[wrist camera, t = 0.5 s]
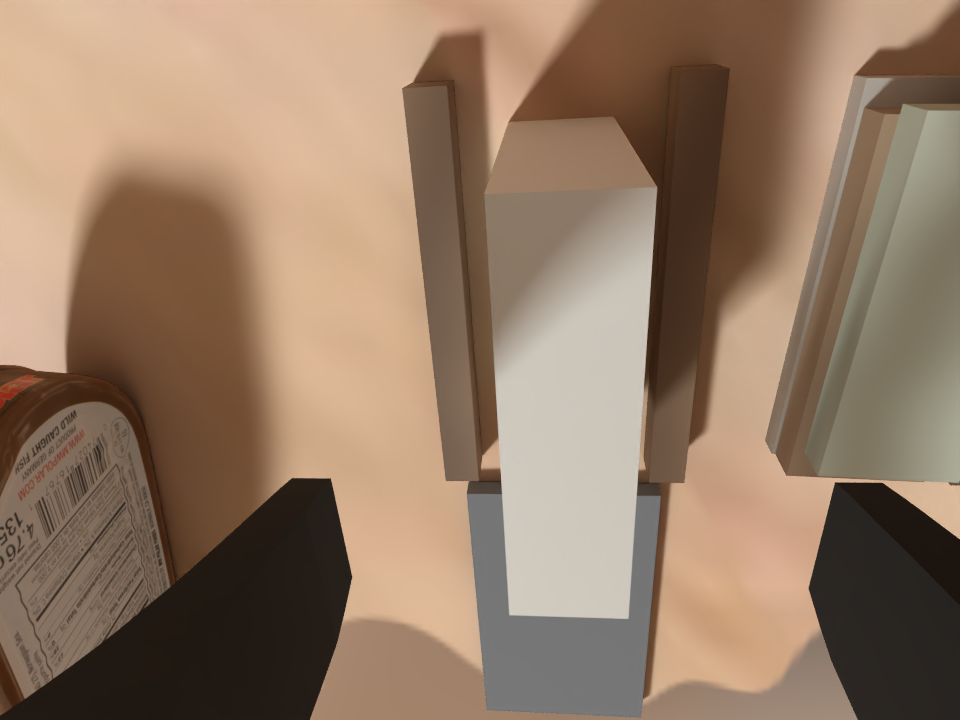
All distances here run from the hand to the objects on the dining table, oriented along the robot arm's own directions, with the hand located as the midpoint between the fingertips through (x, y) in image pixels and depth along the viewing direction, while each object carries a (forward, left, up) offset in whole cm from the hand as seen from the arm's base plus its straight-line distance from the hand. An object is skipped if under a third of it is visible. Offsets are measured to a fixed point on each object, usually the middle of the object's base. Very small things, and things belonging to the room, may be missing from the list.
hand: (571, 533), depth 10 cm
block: (0, 0, -9) cm, 9 cm away
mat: (0, +12, -9) cm, 15 cm away
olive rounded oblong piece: (-8, 0, -10) cm, 13 cm away
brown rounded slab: (+15, +8, -10) cm, 19 cm away
